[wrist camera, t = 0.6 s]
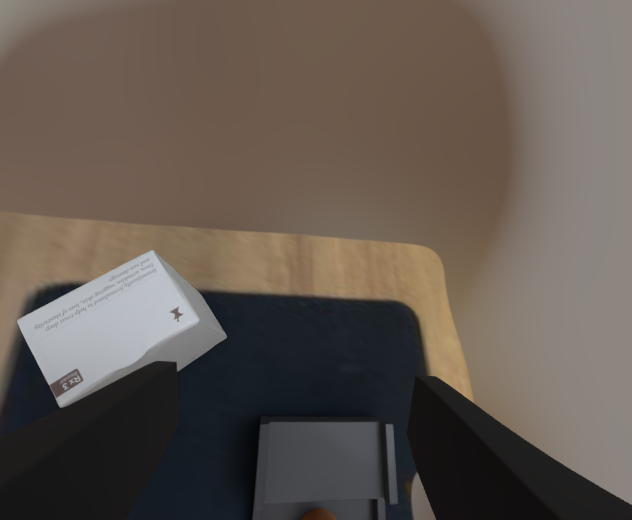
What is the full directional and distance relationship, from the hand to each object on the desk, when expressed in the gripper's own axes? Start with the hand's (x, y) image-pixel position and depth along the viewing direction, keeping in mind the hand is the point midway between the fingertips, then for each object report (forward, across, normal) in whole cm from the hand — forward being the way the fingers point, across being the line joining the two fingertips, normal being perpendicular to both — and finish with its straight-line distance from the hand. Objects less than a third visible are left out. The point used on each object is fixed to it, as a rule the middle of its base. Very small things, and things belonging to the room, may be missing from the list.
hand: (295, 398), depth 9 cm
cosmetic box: (+21, +13, +10) cm, 26 cm away
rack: (+15, -2, +21) cm, 26 cm away
